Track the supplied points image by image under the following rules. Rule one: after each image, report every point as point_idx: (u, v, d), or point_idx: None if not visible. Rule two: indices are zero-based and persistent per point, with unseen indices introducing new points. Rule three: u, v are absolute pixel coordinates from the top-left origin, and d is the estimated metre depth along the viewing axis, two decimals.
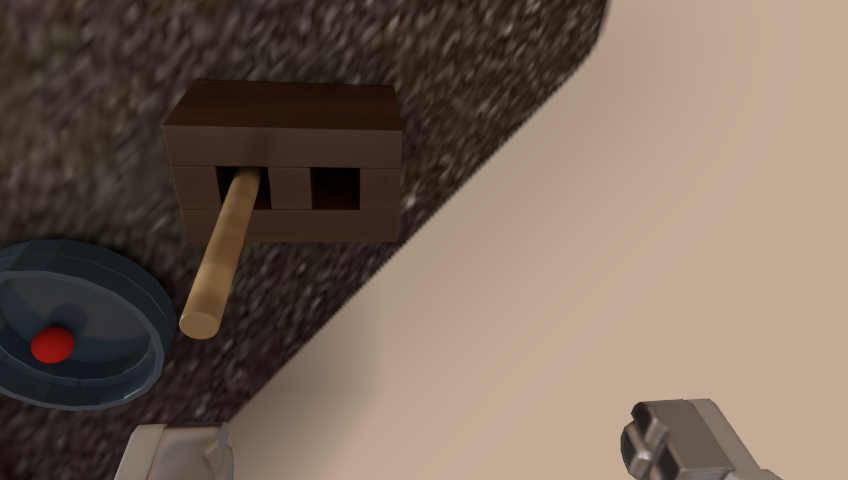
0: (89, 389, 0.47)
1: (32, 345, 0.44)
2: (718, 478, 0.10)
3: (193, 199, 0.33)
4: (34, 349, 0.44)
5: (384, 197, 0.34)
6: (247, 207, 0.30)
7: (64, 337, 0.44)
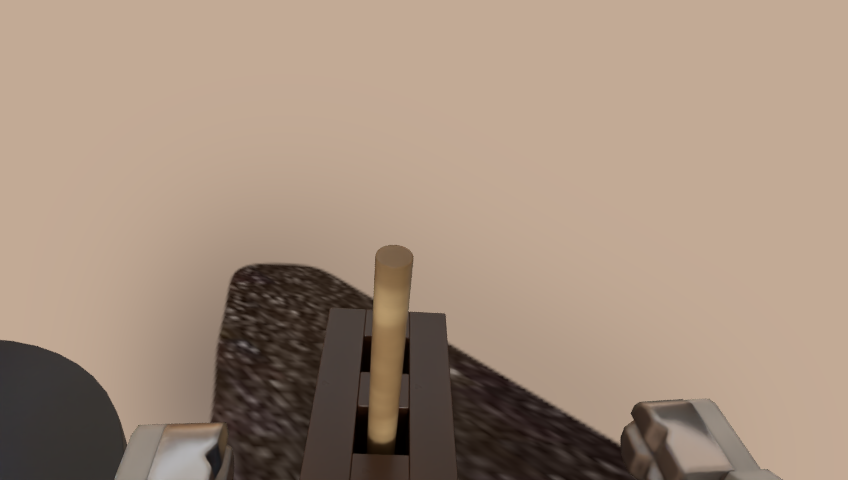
0: None
1: None
2: (718, 478, 0.10)
3: None
4: None
5: None
6: None
7: None
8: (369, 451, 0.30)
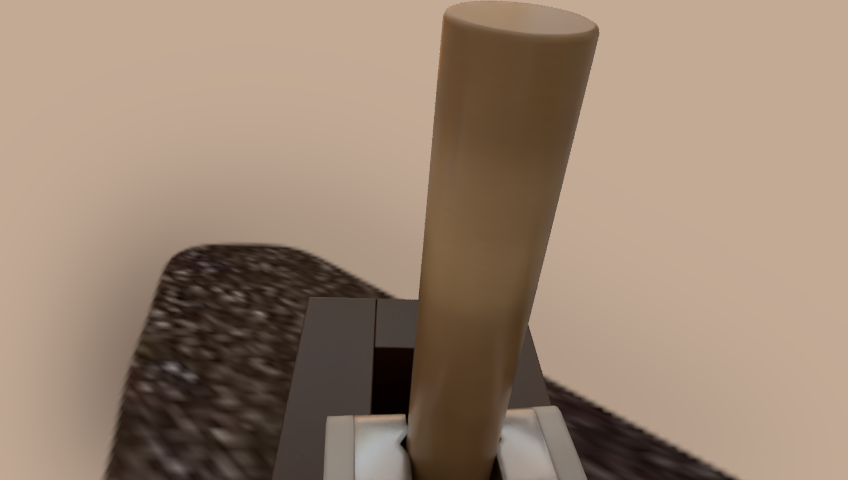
0: None
1: None
2: None
3: None
4: None
5: None
6: None
7: None
8: None
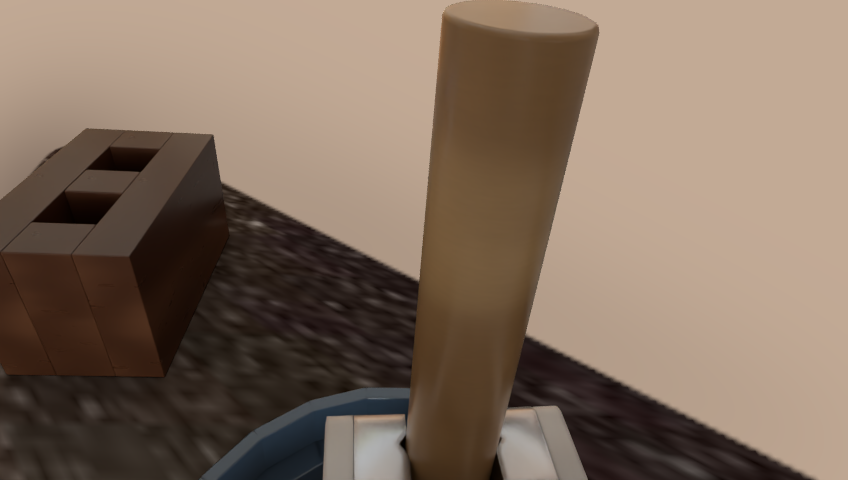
0: None
1: None
2: None
3: (64, 242, 0.25)
4: None
5: (153, 137, 0.34)
6: None
7: None
8: None
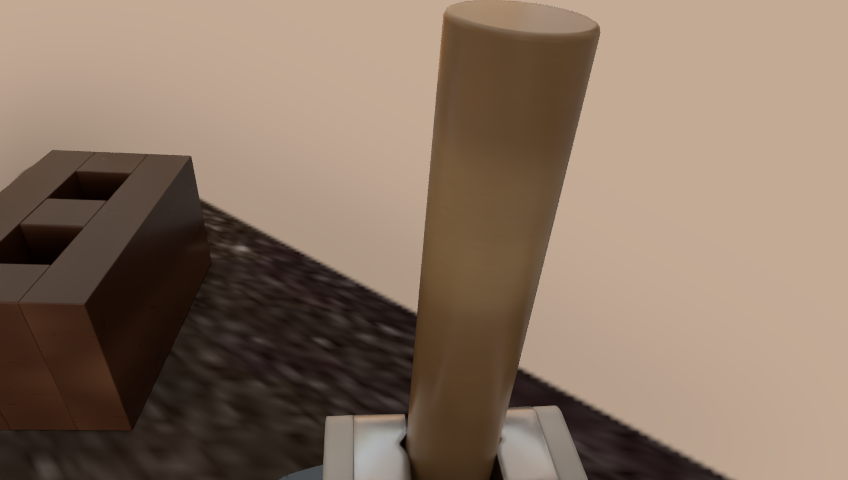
0: None
1: None
2: None
3: (11, 287, 0.22)
4: None
5: (125, 160, 0.31)
6: None
7: None
8: None
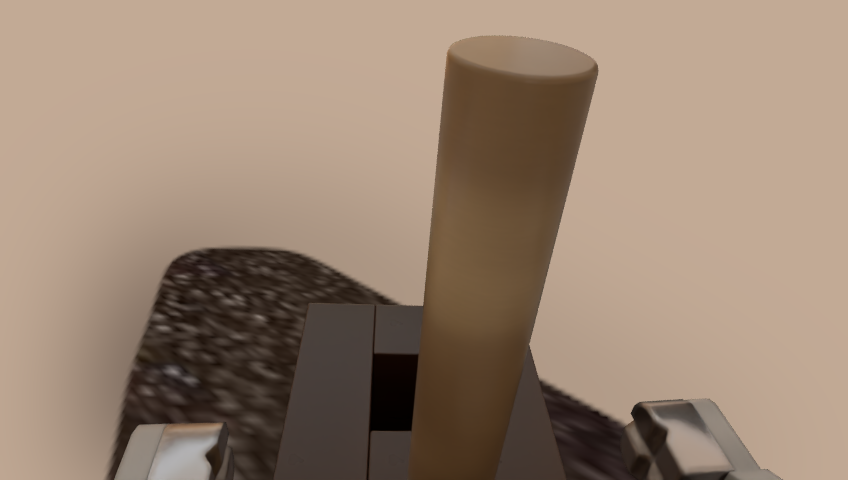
0: None
1: None
2: (718, 478, 0.10)
3: None
4: None
5: None
6: None
7: None
8: None
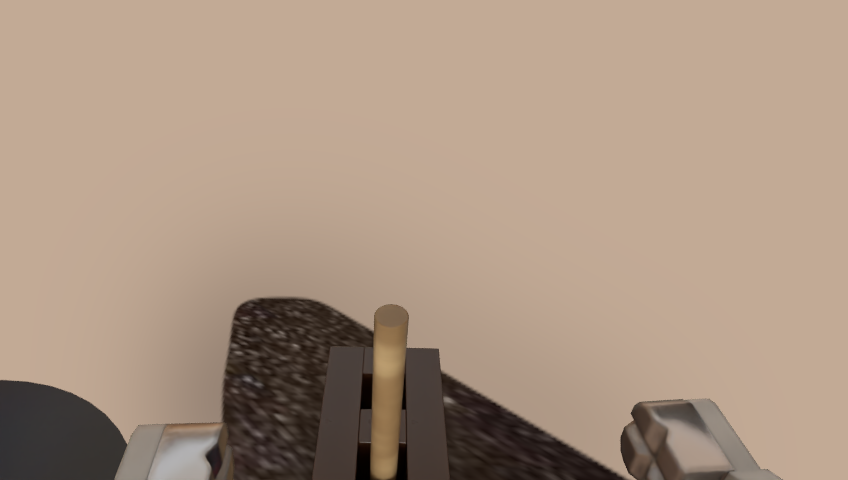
0: None
1: None
2: (718, 478, 0.10)
3: None
4: None
5: None
6: None
7: None
8: None
